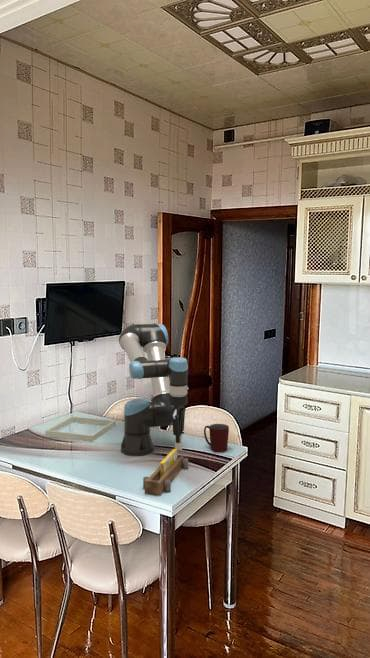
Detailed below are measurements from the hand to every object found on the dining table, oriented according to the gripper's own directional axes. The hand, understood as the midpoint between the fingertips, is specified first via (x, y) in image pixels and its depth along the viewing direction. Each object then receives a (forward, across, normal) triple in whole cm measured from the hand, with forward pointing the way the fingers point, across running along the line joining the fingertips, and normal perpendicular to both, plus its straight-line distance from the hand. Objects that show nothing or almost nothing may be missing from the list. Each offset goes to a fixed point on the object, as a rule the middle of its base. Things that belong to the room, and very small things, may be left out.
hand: (178, 449), depth 210 cm
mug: (+7, +22, -11) cm, 25 cm away
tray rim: (+6, +28, +61) cm, 67 cm away
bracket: (+7, -17, 0) cm, 18 cm away
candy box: (+7, -12, 0) cm, 14 cm away
